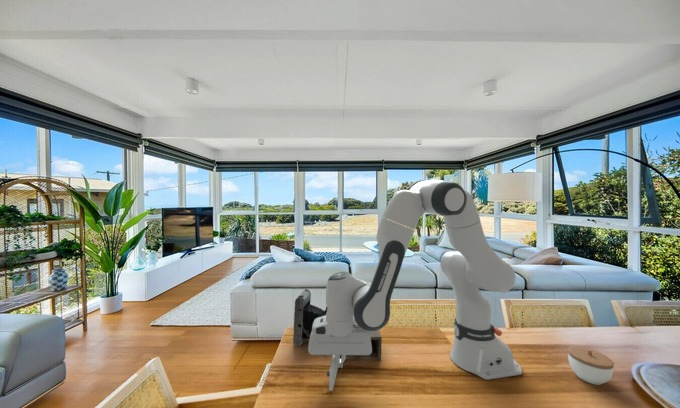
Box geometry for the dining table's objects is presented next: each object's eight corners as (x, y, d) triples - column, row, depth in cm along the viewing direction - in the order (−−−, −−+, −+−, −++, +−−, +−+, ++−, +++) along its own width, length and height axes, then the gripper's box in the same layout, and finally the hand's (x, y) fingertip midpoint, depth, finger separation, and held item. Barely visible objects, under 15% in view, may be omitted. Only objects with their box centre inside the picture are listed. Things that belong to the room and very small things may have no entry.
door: (332, 391, 74) (333, 367, 74) (325, 390, 75) (326, 366, 74) (340, 360, 89) (340, 339, 89) (334, 359, 89) (335, 339, 89)
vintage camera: (330, 353, 94) (333, 301, 94) (291, 346, 97) (294, 295, 97) (335, 339, 103) (338, 292, 103) (300, 333, 106) (303, 287, 106)
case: (375, 339, 103) (376, 319, 102) (381, 360, 90) (381, 336, 89) (337, 339, 102) (337, 318, 102) (337, 359, 89) (337, 336, 89)
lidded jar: (558, 366, 88) (559, 340, 88) (589, 367, 87) (590, 341, 87) (587, 389, 77) (589, 360, 77) (623, 391, 77) (624, 361, 77)
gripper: (371, 319, 82) (371, 360, 82) (310, 319, 82) (310, 359, 83) (373, 329, 76) (373, 373, 76) (307, 329, 76) (307, 373, 76)
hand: (340, 366), depth 79 cm, fingers closed
